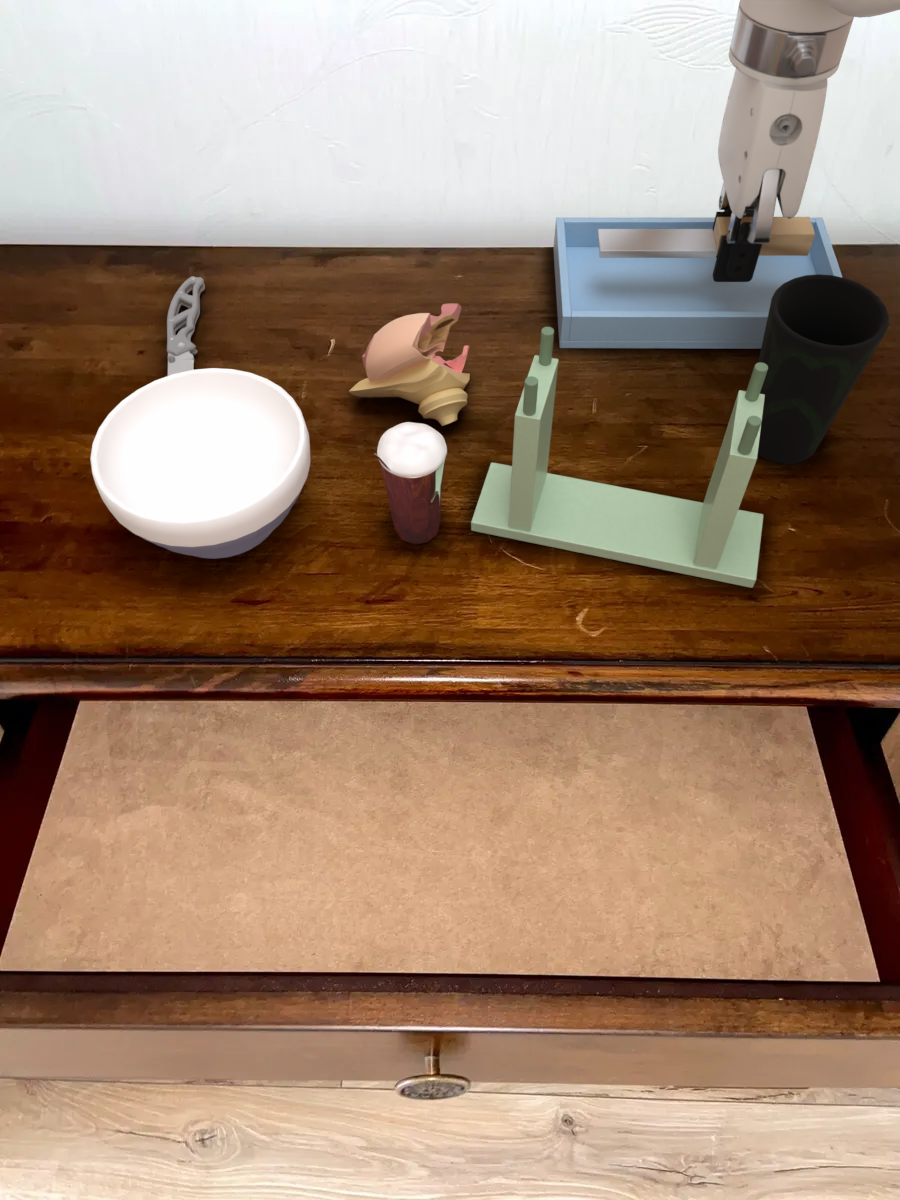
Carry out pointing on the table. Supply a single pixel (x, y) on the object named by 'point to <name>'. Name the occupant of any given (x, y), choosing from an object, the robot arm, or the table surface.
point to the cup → (814, 359)
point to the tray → (666, 290)
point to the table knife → (702, 240)
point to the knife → (183, 326)
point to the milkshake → (413, 478)
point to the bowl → (203, 461)
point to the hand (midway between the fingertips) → (729, 266)
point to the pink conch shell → (417, 365)
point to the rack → (626, 495)
